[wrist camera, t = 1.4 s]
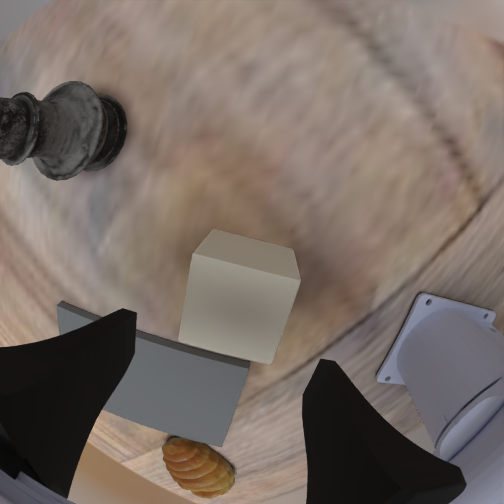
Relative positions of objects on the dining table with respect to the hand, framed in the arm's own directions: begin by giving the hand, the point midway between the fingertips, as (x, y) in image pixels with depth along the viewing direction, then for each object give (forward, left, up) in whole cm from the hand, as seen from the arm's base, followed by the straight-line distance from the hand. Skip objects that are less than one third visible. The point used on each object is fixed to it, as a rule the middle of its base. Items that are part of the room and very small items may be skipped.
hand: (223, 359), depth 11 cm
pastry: (0, +23, -9) cm, 25 cm away
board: (+6, +12, -8) cm, 16 cm away
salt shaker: (+12, -7, -9) cm, 16 cm away
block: (0, 0, -9) cm, 9 cm away
